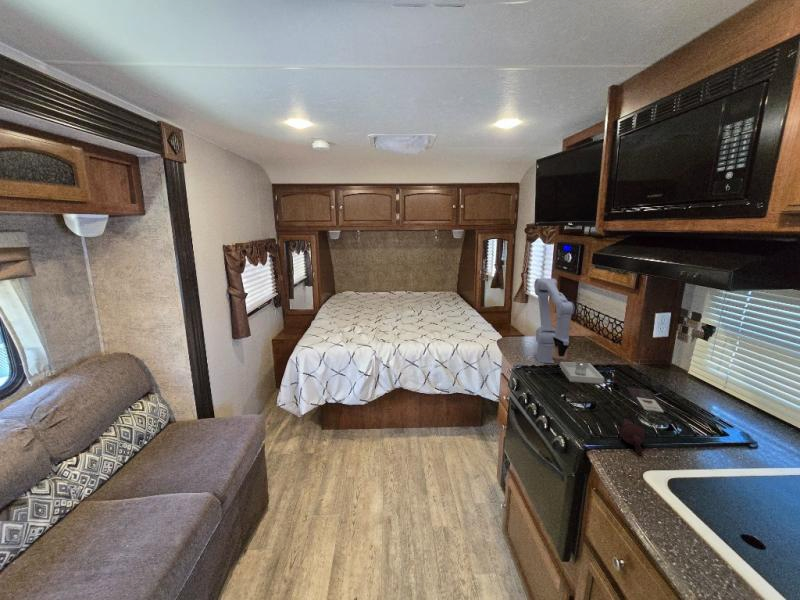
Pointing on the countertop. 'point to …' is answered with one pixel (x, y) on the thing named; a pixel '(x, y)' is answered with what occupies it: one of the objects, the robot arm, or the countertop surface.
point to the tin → (581, 368)
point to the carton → (555, 353)
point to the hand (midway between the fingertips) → (559, 354)
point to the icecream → (632, 434)
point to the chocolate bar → (646, 400)
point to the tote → (590, 376)
